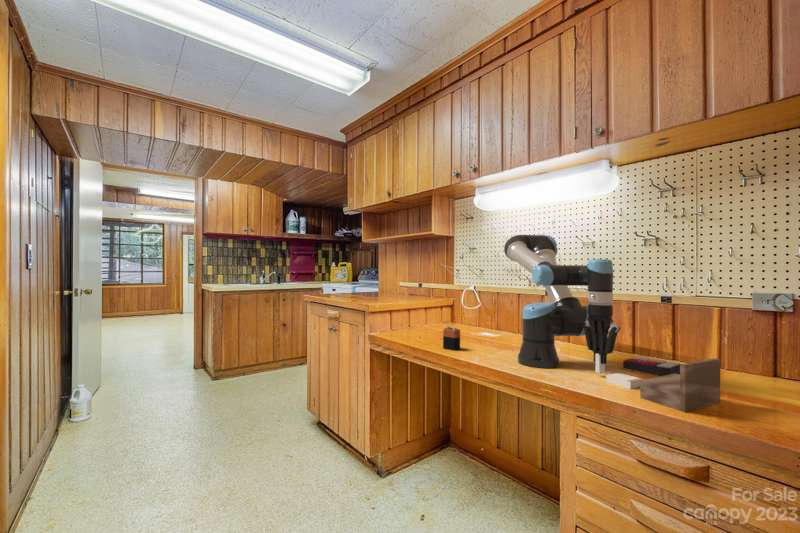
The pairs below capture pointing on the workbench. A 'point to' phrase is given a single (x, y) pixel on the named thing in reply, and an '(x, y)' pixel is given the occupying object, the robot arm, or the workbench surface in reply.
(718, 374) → the brown wooden l-shaped block
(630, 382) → the tile
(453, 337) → the battery
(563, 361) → the workbench surface
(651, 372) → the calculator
